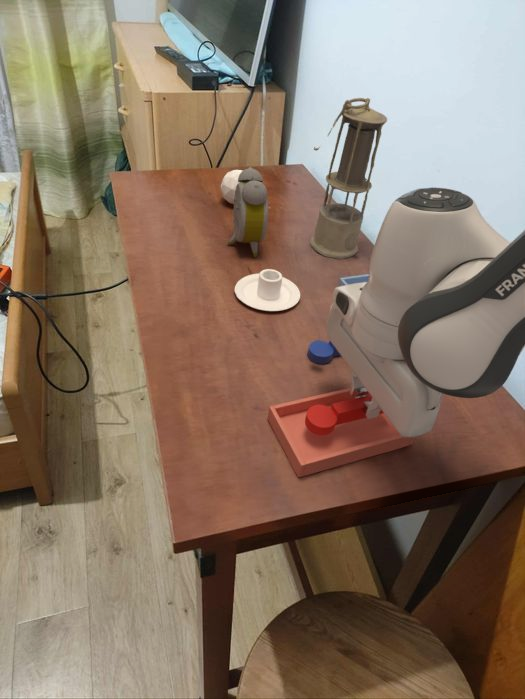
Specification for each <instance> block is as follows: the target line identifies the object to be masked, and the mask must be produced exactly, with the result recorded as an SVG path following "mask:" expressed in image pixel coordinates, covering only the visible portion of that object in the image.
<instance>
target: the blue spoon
mask: <svg viewBox="0 0 525 699" xmlns="http://www.w3.org/2000/svg"><path fill="white" fill-rule="evenodd" d="M340 356H341V355H340V353H339V352H338V351H337V349H336V348H335V347H334V345H333V344H332V343H331V341H330V340H329V341H328V342H327V341H326V340H325V341H324V340H313V341H312V342H310V343H309V345H308V349H307V357H308V359H309V360H310V361H311V362H313V363H314V364H317V365H318V364H319V365H325V364H329V363H330V362H331V361H332V360H333V358H335V357H340ZM341 357H342V356H341Z"/></svg>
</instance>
